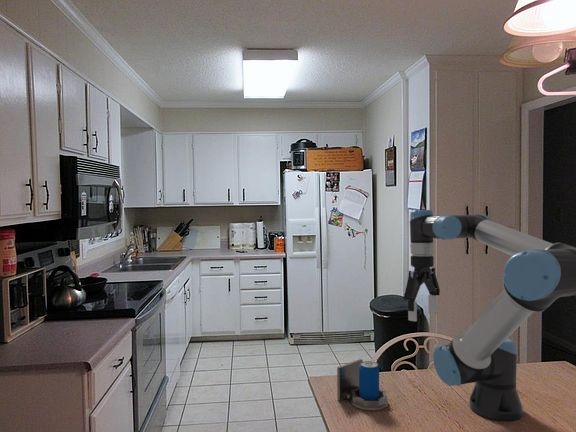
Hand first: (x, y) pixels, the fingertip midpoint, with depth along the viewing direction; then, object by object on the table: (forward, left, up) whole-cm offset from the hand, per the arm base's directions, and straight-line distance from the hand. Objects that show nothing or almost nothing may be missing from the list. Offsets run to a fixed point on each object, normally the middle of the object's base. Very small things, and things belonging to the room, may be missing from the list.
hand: (422, 317), depth 154 cm
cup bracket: (+9, +19, -26) cm, 34 cm away
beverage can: (+8, +19, -26) cm, 33 cm away
